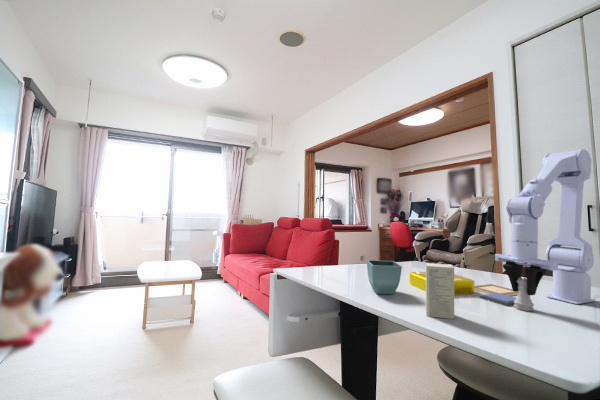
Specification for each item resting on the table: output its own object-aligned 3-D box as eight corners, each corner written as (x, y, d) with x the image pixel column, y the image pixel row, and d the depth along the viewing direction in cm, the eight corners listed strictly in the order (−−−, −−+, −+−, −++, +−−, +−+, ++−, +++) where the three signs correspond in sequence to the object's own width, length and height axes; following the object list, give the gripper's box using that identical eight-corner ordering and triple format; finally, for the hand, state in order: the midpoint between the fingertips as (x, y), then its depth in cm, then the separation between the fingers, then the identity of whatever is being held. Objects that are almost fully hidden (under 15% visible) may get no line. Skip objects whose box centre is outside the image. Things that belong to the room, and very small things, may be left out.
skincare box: (452, 314, 76) (452, 264, 76) (454, 320, 72) (455, 267, 72) (424, 310, 78) (425, 262, 78) (425, 316, 74) (426, 265, 74)
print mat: (490, 285, 107) (490, 283, 107) (524, 293, 97) (524, 291, 97) (468, 287, 103) (468, 286, 103) (501, 297, 93) (501, 295, 93)
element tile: (434, 296, 92) (434, 280, 93) (407, 284, 107) (407, 270, 107) (477, 295, 96) (477, 279, 96) (445, 283, 110) (445, 269, 110)
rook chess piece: (537, 312, 79) (538, 281, 79) (518, 310, 80) (518, 279, 80) (528, 307, 83) (528, 277, 84) (510, 305, 84) (510, 276, 84)
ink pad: (497, 295, 94) (497, 292, 94) (525, 303, 87) (525, 299, 87) (479, 297, 91) (479, 294, 91) (507, 306, 84) (507, 302, 84)
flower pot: (402, 297, 90) (402, 265, 90) (371, 296, 90) (372, 265, 90) (393, 289, 98) (393, 260, 99) (365, 288, 99) (366, 260, 99)
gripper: (488, 238, 87) (487, 287, 87) (546, 245, 74) (545, 302, 73) (504, 238, 90) (503, 285, 90) (563, 244, 77) (562, 299, 76)
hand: (523, 292), depth 82 cm, fingers closed on rook chess piece, 3 cm apart
